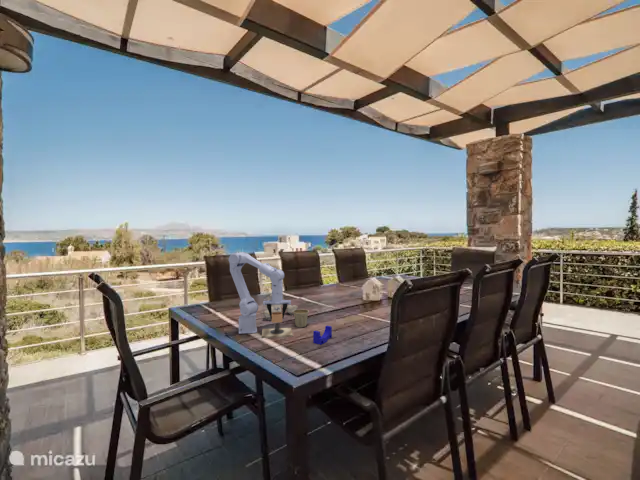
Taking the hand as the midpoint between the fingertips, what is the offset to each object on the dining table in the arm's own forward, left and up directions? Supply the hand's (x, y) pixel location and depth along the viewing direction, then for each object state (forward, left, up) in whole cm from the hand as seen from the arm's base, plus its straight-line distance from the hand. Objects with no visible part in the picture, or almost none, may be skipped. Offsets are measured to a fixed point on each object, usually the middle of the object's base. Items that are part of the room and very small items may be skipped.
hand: (277, 318), depth 175 cm
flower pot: (+14, +14, -9) cm, 22 cm away
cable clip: (+23, -12, -10) cm, 28 cm away
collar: (0, 0, -2) cm, 2 cm away
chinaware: (+1, +38, -10) cm, 39 cm away
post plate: (0, +2, -9) cm, 9 cm away
